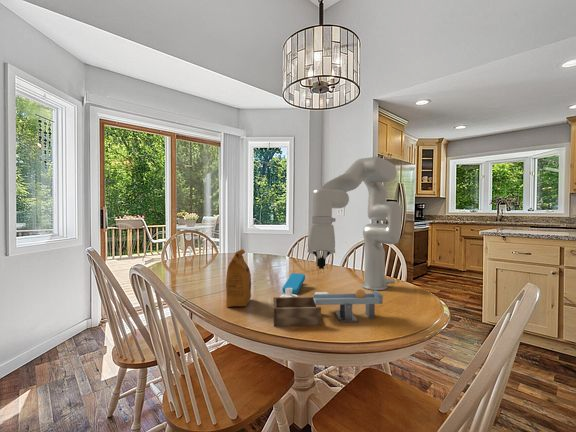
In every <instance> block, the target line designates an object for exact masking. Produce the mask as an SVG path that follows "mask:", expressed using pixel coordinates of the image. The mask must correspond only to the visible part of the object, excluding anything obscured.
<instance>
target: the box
mask: <svg viewBox="0 0 576 432" xmlns="http://www.w3.org/2000/svg"><path fill="white" fill-rule="evenodd" d="M272 300H273V302H272V303H273V327H298V326H299V327H303V326H307V327H308V326H309V327H311V326H312V327H313V326H322V307H321V306H317V305H315V302H314V300H313V296H298V297H295V296H292V297H285V296H283V297H280V296H278V297H277V296H276V297H274V296H273V299H272Z"/></svg>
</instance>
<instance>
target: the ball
mask: <svg viewBox="0 0 576 432" xmlns="http://www.w3.org/2000/svg"><path fill="white" fill-rule="evenodd" d="M355 293H356V297H357V298H365V296H366V294H365V293H366V292H365V290H363V289H358V290H356V292H355Z"/></svg>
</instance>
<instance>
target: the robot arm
mask: <svg viewBox="0 0 576 432" xmlns="http://www.w3.org/2000/svg"><path fill="white" fill-rule="evenodd" d="M397 171H398V170H397V168H396V166H395V165H394V164H393V163H392V162H390V161H389V160H386V159H385V158H383V157H380V156H373V157H372V156H371V157H363V158H359V159H356V160H355V161H354V162H353V163H352V164H351V165H350V166H349V167H348V168H347V169H346V170H345V171H344V173H342V174H340V175H338V176H336V177H334V178H333V179H331V180H329V181H327V182H325V183H324V184H322V186H320V188H318V189H317V188H316V189H314V190H313V191H312V211H311V212H312V214H311V215H312V216H311V218H312V219H311V222H312V223H311V224H309V227H308V228H309V229H308V238H307V247H308V248H307V253H308V254H311V255H314V256H315V257H316V266H317V267H318V270H324V269H325V267H326V259H327V258H328V256H329V255H332V254H336V237H335V236H336V235H335V227H334V224H333V223H335V222H336V218H334V217H333V209H343V208H345V207H346V206H347V205H348V204H349V202H350V196H349V194H348V192H350V191H355V190H356V189H357V188H358V187H359V186H360V185H361V184H362V182H363V183H364V184H365V186H366V188H367V191H368V199H367V202H368V203H367V217H368V219H370V220H371V221H377V222H378V221H381V222H388V223H373V222H371V223H368V224H366V225H365V226H364V227H363V229H362V230H363V231H362V235H363V237H362V238H363V243H364V281H363V282H362V283H361V287H362V288H363V289H367V290H370V291H371V290H372V291H373V290H377V291H385V290H387V289H389V285H388V284H391V285H392V284H395V279H390V278H386V277H385V276H386V275H385V274H386V271H385V270H386V268H385V266H386V252H385V251H386V250H385V248H384V246H383V244H385V245H396V244H398V243H399V241H400V238H401V231H402V230H401V229H402V207H401V205H400V203H399V202H397V201H390V200H389V201H387V189H386V187H385V186H384V185H383V184H382V183H389V182H393V181H394V180H395V179H396V177H397V174H398V173H397ZM321 251H322V256H321Z"/></svg>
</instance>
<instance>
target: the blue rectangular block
mask: <svg viewBox="0 0 576 432" xmlns="http://www.w3.org/2000/svg"><path fill="white" fill-rule="evenodd" d="M305 279H306V274H305V273H295V272H294V273H293V272H292V273H291V274H290V275H289V277H288V278H287V280H286V281H285V284H284V285H283V287H281V288H282V293H283V294H284V293H285V294H286V292H285V288H292V294H295V295H298V294H299V291H300V289H301V287H302V285H303V283H304V282H305Z"/></svg>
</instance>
